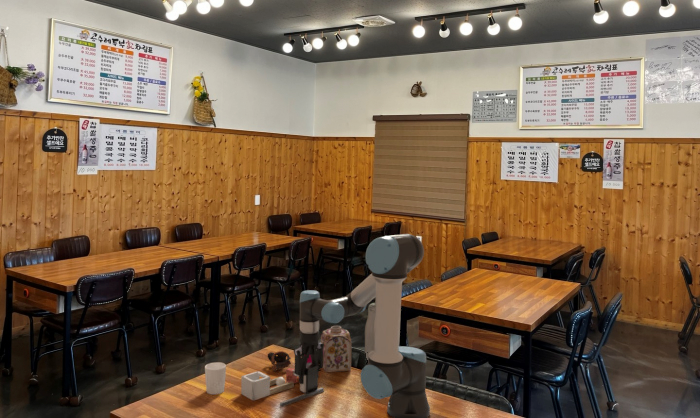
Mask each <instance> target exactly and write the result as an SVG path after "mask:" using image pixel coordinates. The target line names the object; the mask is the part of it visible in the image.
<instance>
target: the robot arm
mask: <svg viewBox="0 0 700 418" xmlns="http://www.w3.org/2000/svg"><path fill="white" fill-rule="evenodd" d="M423 245H424V244H423V243H422V241H421V240H420V238H418V237H417V236H415V235H413V234H410V233H401V234H394V235H384V236H380V237H377V238H375V239H373V240H372V241H371V242H370V243H369V245H368V246H367V248H366V251H365V263H366V265H367V268H368V269H369V270H370V271H371V274H369V275H368V276H367V277H366V278H365V279H364V280H363V281H362V282H360V283H359V284H358V286H356V287H355V288H354V289H353V290H352V291H350V293H348V294H347V295H346V296H341V297H338V298H335V299H334V298H333V299H328V300H326V299H322V298H320V297H321V296H320V292H319V291H317V290H315V289H314V290H309V289H307V290H303V291H302V292H300V295H299V296H300V297H299V330H300V331H299V342H300V344H299V347H298V348H294V349H293V354H294V369H295V371H294V373H295V374H296V375H299V377H298V384H299V391H301V392H302V393H303V394H305V392H306V375H304V374H305V369H306V365H307V360H308V358H309V355H311V360H312V363H313V364H315V365H318V378H319V372H322V371H321V370H322V369H323V348H324V344H323V343H321V341H320V331H319V330H320V321H324V322H327V323H329V324H338V323H340V322H341V321H342V320H343V319H344V318H346V317H347V318H348V317H350V316H355V315H359V314H360V313H363V312H365V310H366V308H367V305H369V303H370V302H372V300H375V302H374V303H375V321H374V344H373V351H371V352H370V353H369V355H368V363H367V364H366V365H364V367H363V368H362V369H361V371H360V380H361V384H362V387H363V389H364V390H365V391H366V393H367V394H368V395H369V396H370V397H372V398H373V399H377V400H382V399H385V398H389V399H388V403H387V410H386V411H387V414H388V415H389V416H390V417H392V418H429V417H430V415H431V407H430V404H429V400H428V396H427V392H426V384H427V383H426V381H427V380H426V379H427V363H428V362H427V354H426V352H425V351H424V350H422V349H420V348H416V347H412V346H401V345H400V336H401V335H400V333H401V331H400V330H401V311H402V309H401V308H402V290H403V282H404V281H405V280H406V279H408V274H409V273H410V272H411V271H412V270H414V269H415V268H416V267H418V265H419V264H420V263H421V262H422V261H423V258H424V254H425V248H424V246H423ZM319 341H320V342H319Z"/></svg>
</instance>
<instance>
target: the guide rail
mask: <svg viewBox="0 0 700 418" xmlns="http://www.w3.org/2000/svg"><path fill="white" fill-rule="evenodd" d="M324 390H325V389H324V388H323V387H318V389H316V390H314V391H311V392H308V393H303V394H300V395H296V396H295V397H292V398H289V399H287V400H283V401H280V402H279V405H280V407H282V408H283V407H285V406H288V405H290V404H293V403H297V402H299V401H301V400H304V399H307V398H309V397H313V396H315V395H318V394H322V393H324Z"/></svg>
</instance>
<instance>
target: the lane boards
mask: <svg viewBox="0 0 700 418" xmlns="http://www.w3.org/2000/svg"><path fill="white" fill-rule="evenodd" d="M279 377H282V378H284V376H278V377H275V378H270V395H269V396H271V395H274V394H277V393H279V392H282V391H285V390H288V389H291V388H294V387H295V385H294V382H293V381H291V382H285V384H282V385H279V386H277V384H276V380H277V378H279ZM274 385H276V386H274ZM272 386H274V387H272Z"/></svg>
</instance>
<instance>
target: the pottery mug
mask: <svg viewBox="0 0 700 418" xmlns="http://www.w3.org/2000/svg"><path fill="white" fill-rule="evenodd" d="M267 359H268V360H269V361H270V362H271V365H272V368H271V369H272V371H273V372H277V371H278V370H282V369H285V368H287V367H288V366H290V365H291V364H292V362H291V359H292V358H291V357H290V355H289V353H287V352H285V351H283V350H282V351H280V350H279V351H277V352H272V351H271V352H268V353H267Z"/></svg>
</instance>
